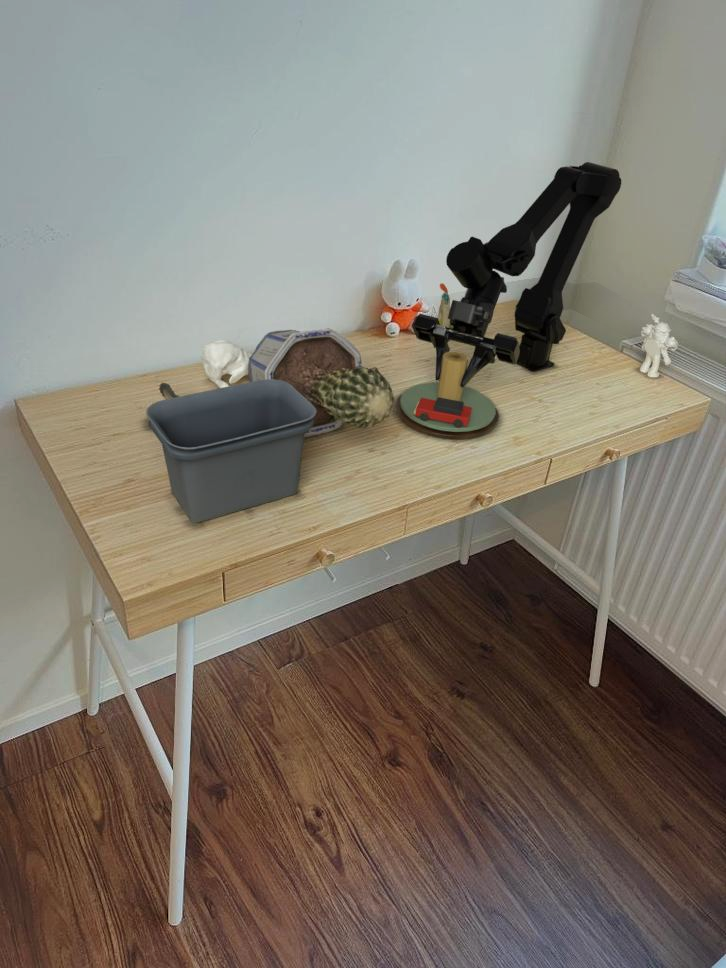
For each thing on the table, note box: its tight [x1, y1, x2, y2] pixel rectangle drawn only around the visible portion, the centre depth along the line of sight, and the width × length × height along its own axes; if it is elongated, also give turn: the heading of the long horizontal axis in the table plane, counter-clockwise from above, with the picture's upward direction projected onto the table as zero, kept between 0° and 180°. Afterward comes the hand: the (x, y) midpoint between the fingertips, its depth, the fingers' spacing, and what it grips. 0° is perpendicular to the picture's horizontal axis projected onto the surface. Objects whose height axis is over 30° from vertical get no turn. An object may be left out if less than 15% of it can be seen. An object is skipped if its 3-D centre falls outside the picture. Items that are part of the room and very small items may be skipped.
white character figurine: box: [639, 313, 679, 378], centre depth 155 cm, size 9×4×12 cm, turn 24°
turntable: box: [400, 351, 497, 432], centre depth 134 cm, size 17×17×10 cm
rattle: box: [437, 282, 453, 329], centre depth 163 cm, size 8×8×12 cm
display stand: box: [395, 393, 500, 441], centre depth 138 cm, size 18×18×1 cm
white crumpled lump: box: [200, 339, 253, 389], centre depth 139 cm, size 6×8×12 cm
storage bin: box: [145, 379, 316, 523], centre depth 109 cm, size 21×16×14 cm
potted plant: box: [247, 327, 396, 438], centre depth 123 cm, size 18×18×30 cm
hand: (449, 383), depth 133 cm, fingers closed on turntable, 4 cm apart
